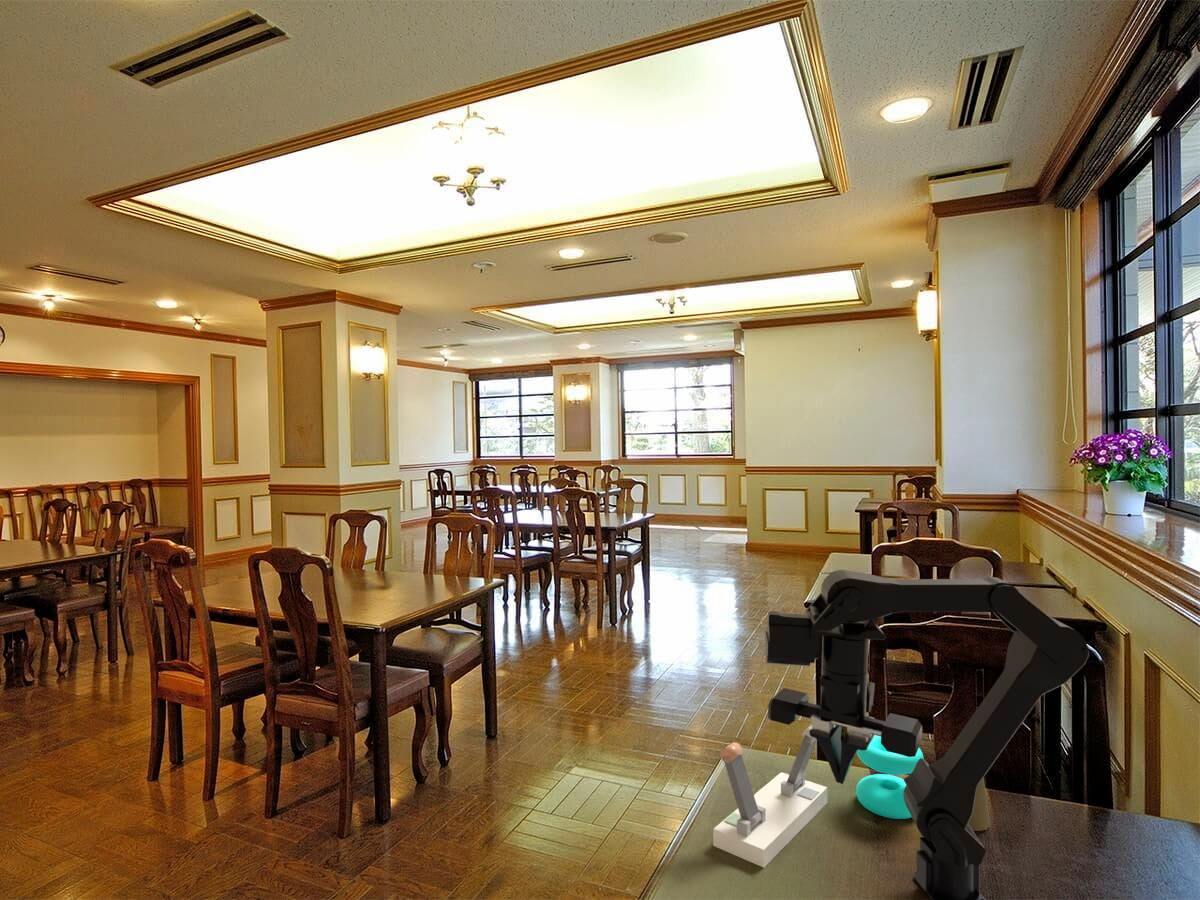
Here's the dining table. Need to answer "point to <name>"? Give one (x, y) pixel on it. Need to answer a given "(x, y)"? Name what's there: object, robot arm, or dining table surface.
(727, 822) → the switch unit
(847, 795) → the dining table surface
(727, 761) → the terracotta lever
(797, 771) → the grey lever
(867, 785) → the teal curved piece
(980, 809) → the cork
